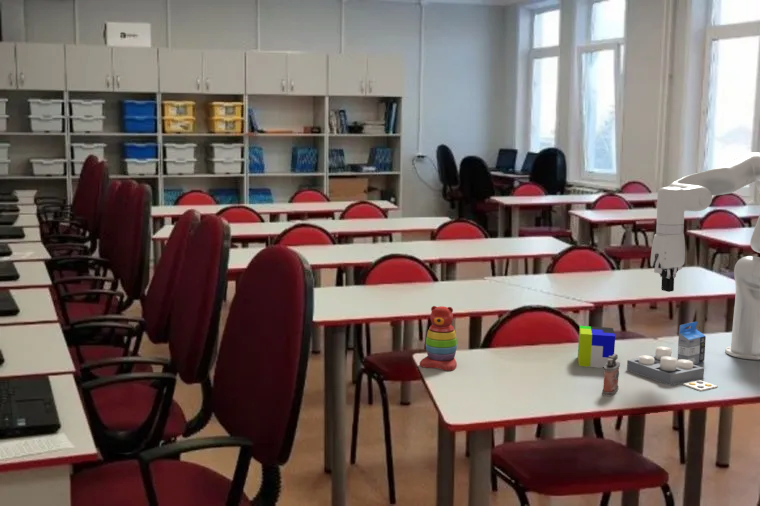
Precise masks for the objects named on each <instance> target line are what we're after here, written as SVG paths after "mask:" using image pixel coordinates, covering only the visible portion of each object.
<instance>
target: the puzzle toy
mask: <svg viewBox="0 0 760 506" xmlns="http://www.w3.org/2000/svg"><path fill="white" fill-rule="evenodd" d="M615 344H616V334H615V331H614V328H613V327H605V326H604V327H603V326H589V325H579V331H578V349H577V362H578V366H579V367H587V366H589V367H590V368H600V367H604V366H605V364H607V361H608V358H609V356H612V355H613V354H615V347H616V346H615Z"/></svg>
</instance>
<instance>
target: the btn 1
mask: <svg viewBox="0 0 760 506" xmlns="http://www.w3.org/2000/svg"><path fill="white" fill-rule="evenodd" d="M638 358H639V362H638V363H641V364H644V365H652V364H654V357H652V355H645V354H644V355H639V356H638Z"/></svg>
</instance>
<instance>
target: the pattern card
mask: <svg viewBox="0 0 760 506" xmlns="http://www.w3.org/2000/svg"><path fill="white" fill-rule="evenodd" d="M682 386H684V387H688V388H691V389H693V390H696V391H699V392H704V391H707V390H713V389H717V388H719V387H718V385H715V384H713V383H710V382H707V381H705V380H702V379H697V380H692V381H688V382H683V383H682Z"/></svg>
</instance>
